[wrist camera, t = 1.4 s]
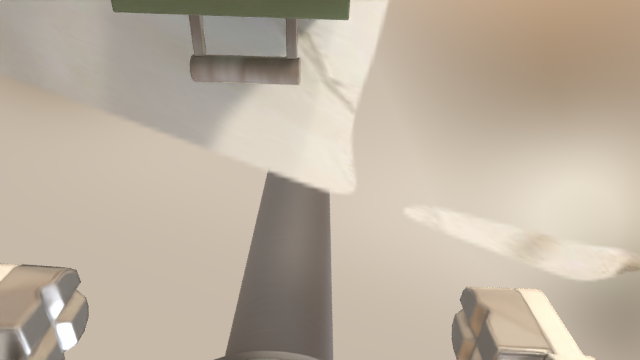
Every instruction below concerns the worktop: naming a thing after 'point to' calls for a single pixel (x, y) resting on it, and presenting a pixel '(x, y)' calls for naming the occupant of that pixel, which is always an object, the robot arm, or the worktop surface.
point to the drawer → (274, 3)
